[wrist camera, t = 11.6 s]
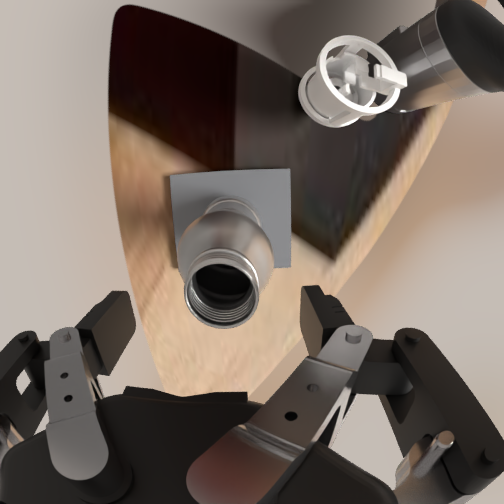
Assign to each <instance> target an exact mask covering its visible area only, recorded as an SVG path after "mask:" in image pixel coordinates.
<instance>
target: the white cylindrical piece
mask: <svg viewBox="0 0 504 504" xmlns="http://www.w3.org/2000/svg"><path fill="white" fill-rule="evenodd" d="M341 45H346V46H345V47H344V48H343V49H342V50H341V51H340V53H338V55H337V56H336V57H335V58H333V56H332V57H330V58H328V59H327V60H326V57H327V54H328V52H329V51H330V50H331V49H333V48H335V47H337V46H341ZM362 48H363V49H365V50H367V51H368V52H370V53H371V54H372V55H374V56H375V57H376V58H377V59H378V60H379V61H380V62H381V64H382V65H378V64H375V65H374V78H372V77H369V76H368V73H369V67H368V64H369V62H368V61H367V60H365V59H364V58H362V57H360V56H358V55H356V53H357V52H358V51H360V50H361V49H362ZM314 73H315V75H314V76H313V77H312V78H311V80H310V81H309V82H308V84H307V87H306V92H305V86H306V82H307V79H308V78H309V77H310V76H311V75H313V74H314ZM329 77H334V78H330V79H329ZM404 87H407V76H406V74H405V73H402V72H400V71H398V70H397V68H396V66H395V64H394V62H393V61H392V59H391V58H390V57H389V55H388V54H387V53H386V52H385V51H384V50H383V49H382V48H380V47H379V46H378V45H376V44H375V43H373V42H371V41H370V40H367V39H365V38H362V37H358V36H352V35H346V36H340V37H336V38H334V39H332V40H331V41H329V42H328V43H327V44H326V45H325V46H324V48H323V49H322V51H321V52H320V54H319V55H318V58H317V62H316V66H314V67H313V68H311V69H310V70H309V71H307V72H306V74H305V75H304V77H303V78H302V80H301V82H300V84H299V89H298V95H299V100H300V103H301V105H302V107H303V109H304V110H305V112H306V113H307V114H308V115H309V116H310V117H311V118H312V119H313V120H315V121H316V122H318V123H320V124H322V125H324V126H328V127H343V126H346V125H349V124H351V123H353V122H355V121H356V120H357V119H358V118H359V117H361V116H364V115H373V114H378V113H380V112H383V111H386V110H388V109H389V108H391V107H392V106H393V105H394V104H395V102H396V101H397V99H398V97H399V94H400V89H402V88H404ZM376 92H378V93H381V94H384V95H388V96H387V98H386V100H385V101H384V102H383V103H382V104H381V105H380V106H378V107H369V106H370V105H371V104H372V103H373V101H374V99H375V96H376Z"/></svg>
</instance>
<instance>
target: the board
mask: <svg viewBox="0 0 504 504" xmlns="http://www.w3.org/2000/svg"><path fill="white" fill-rule="evenodd" d="M170 187H171V200H172V213H173V224H174V234H175V243H176V252H177V251H178V245H179V241H180V239H181V236H182V234H183V233H184V231H185V230H186V228H187V227H188V226H189V225H190V224H191V223H192V222H193V221H194V220H196V219H198V218H199V217H201V216H202V215H203V213H204V211H205V209H206V208H207V206H208V205H209V204H210V203H211V202H212V201H214V200H215V199H217V198H219V197H222V196H228V195H231V196H238V197H242V198H244V199H246V200H247V201H249V202H250V203H251V204H252V205H253V206H254V207H255V208H256V210H257V211H258V213H259V216H260V218H261V224H262V229H263V231H264V232H265V233H266V235H267V237H268V239H269V240H270V243H271V246H272V248H273V254H274V268H288V267H291V190H290V169H257V170H233V171H215V172H201V173H189V174H178V175H170ZM178 268H179V267H178ZM179 272H180V271H179Z"/></svg>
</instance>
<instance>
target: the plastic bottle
mask: <svg viewBox="0 0 504 504" xmlns="http://www.w3.org/2000/svg"><path fill="white" fill-rule="evenodd" d="M177 262H178V267H179V271H180V275H181V277H182V279H183V281H184V283H185V286H184V297H185V301H186V304H187V306H188V308H189V310H190V312H191V313H192V314H193V315H194V316H195V317H196V318H197V319H198V320H199V321H201V322H202V323H204V324H206V325H208V326H211V327H214V328H221V329H227V328H234V327H237V326H239V325H241V324H243V323H245V322H246V321H248V320H249V319H250V318H251V317H252V315H253V314H254V312H255V310H256V308H257V305H258V301H259V295H260V294H261V293H262V291H263V290H264V289H265V287H266V286H267V284H268V282H269V280H270V278H271V276H272V272H273V269H274V254H273V248H272V246H271V243H270V240H269V239H268V237H267V235H266V233H265V232H264V231H263V229H262V224H261V218H260V216H259V213H258V211H257V210H256V208H255V207H254V206H253V205H252V204H251V203H250V202H249V201H247V200H246V199H244V198H242V197H238V196H231V195H228V196H222V197H219V198H217V199H215V200H214V201H212V202H211V203H210V204H209V205H208V206H207V208H206V209H205V211H204V213H203V215H202V216H201V217H199V218H198V219H196V220H194V221H193V222H192V223H191V224H190V225H189V226H188V227H187V228H186V230H185V231H184V233H183V234H182V236H181V239H180V241H179V245H178V251H177Z"/></svg>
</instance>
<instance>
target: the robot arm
mask: <svg viewBox="0 0 504 504" xmlns="http://www.w3.org/2000/svg"><path fill="white" fill-rule="evenodd" d="M498 1H499V2H500V4H501V5H502V6H503V8H504V0H498ZM376 45H378V46H379V47H380V48H382V49H383V50H384V51H385V52H386V53H387V54H388V55H389V57H390V58H391V59H392V61H393V62H394V64H395V66H396V68H397V70H398V71H400V72H402V73H405V74H406V76H407V87H404V88H402V89H400V94H399V97H398V99H397V101H396V102H395V104H394V105H393V106H392V107H391V108H389V109H388V110H386V111H388V112H392V113H397V114H401V113H406V112H410V111H414V110H417V109H421V108H424V107H428V106H432V105H436V104H440V103H444V102H449V101H453V100H457V99H462V98H466V97H472V96H477V95H482V94H487V93H493V92H499V91H503V92H504V25H503V24H502V23H501V22H500V21H498V20H497V19H496V18H495V17H494V16H493V15H492V14H491V13H489V12H488V11H487V10H486V9H484V8H483V7H482V6H480V5H479V4H477V3H475V2H474V1H472V0H448V1H447V2H445V3H444V4H442V5H441V6H439V7H438V8H436V9H434V10H433V11H432V12H430V13H428V14H427V15H426V16H424V17H423V18H421V19H420V20H418V21H417V22H416V23H414V24H413V25H411V26H410V27H409V28H408V27H405V26H399V27H397V28H396V29H395V30H393V31H392V32H391V33H390V34H388V35H387V36H386V37H385V38H384V39H383V40H381V41H380V42H379V43H377V44H376ZM367 61H368V62H369V64H368V67H369V73H368V76H369V77H372V78H374V65H375V64H378V65H382V64H381V62H380V61H379V60H378V59H377V58H376V57H375V56H374V55H372V54H371V53H370V52H368V58H367ZM387 96H388V95H384V94H381V93H378V92H376V96H375V99H374V102H375V103H376V104H377V105H378V106H380V105H381V104H382V103H383V102H384V101H385V100H386V98H387ZM300 327H301V332H302V335H303V338H304V340H305V343H306V347H307V350H308V353H309V356H307V357H306V358H305V359H304V360H303V361H302V363H300V365H299V366H298V367H297V368H296V369H295V371H294V372H293V373H292V374H291V375H290V377H288V379H287V380H286V381H285V382H284V383H283V384H282V385H281V387H280V388H279V389H278V390H277V391H276V392H275V393H274V394H273V395H272V396H271V397H270V399H269V400H268V401H267V402H266V403H265V404H261V403H257V402H252V401H248V395H247V392H213V393H207V394H201V395H194V396H187V397H180V396H176V395H172V394H168V393H165V392H161V391H158V390H154V389H148V388H139V387H130V386H126V388H125V390H124V392H123V394H119V395H113V396H109V397H106V398H105V397H104V395H103V391H102V388H101V385H100V383H99V380H98V378H97V376H98V374H100V375H106V376H109V375H110V374H111V372H112V370H113V368H114V367H115V365H116V363H117V361H118V360H119V358H120V356H121V355H122V353H123V351H124V349H125V348H126V346H127V344H128V343H129V341H130V339H131V338H132V336H133V334H134V332H135V329H136V321H135V317H134V313H133V309H132V305H131V300H130V296H129V294H128V292H127V291H111V293H109V295H107V297H106V298H105V299H104V300H103V301H101V302H100V303H98V304H96V305H95V306H94V307H93V308H92V309H91V310H90V312H88V313H87V314H86V316H85V317H84V318H83V319H82V320H81V321H80V322H79V323H78V324H77V325H76V326H75V327H74V328H73V327H66V328H62V329H59V330H57V331H56V332H54V333H53V334H52V335H51V337H50V341H39V340H38V337H37V335H36V333H35V332H34V331H25V332H22V333H19V334H18V335H16V336H15V337H14V338H13V339H12V340H11V341H10V342H9V343H8V344H7V345H6V346H5V348H4V349H3V350H2V351H1V352H0V504H465V503H466V502H467V501H469V500H470V499H472V498H473V497H474V496H475V495H477V494H478V493H479V492H480V491H482V490H483V489H484V488H485V487H487V486H488V485H489V484H490V483H491V482H492V481H494V480H495V479H496V478H497V477H498V476H499V475H500V474H501V473H502V472H503V471H504V440H503V438H502V436H501V435H500V433H499V432H498V430H497V428H496V427H495V425H494V424H493V422H492V421H491V419H490V418H489V416H488V415H487V413H486V412H485V410H484V409H483V407H482V406H481V405H480V403H479V402H478V400H477V399H476V397H475V396H474V395H473V393H472V392H471V390H470V389H469V388H468V386H467V385H466V384H465V382H464V381H463V379H462V378H461V377H460V375H459V374H458V373H457V372H456V370H455V369H454V368H453V366H452V365H451V364H450V363H449V361H448V360H447V359H446V357H445V356H444V355H443V354H442V352H441V351H440V350H439V349H438V347H437V346H436V345H435V344H434V343H433V341H432V340H431V339H430V338H429V337H428V335H427V334H426V333H424V332H423V331H421V330H418V329H415V328H403V329H400V330H398V331H397V332H396V333H395V336H394V340H380V339H373V335H372V333H371V332H370V331H369V330H368V329H366V328H364V327H362V326H358V325H355V324H354V322H353V321H352V320H351V318H350V316H349V315H348V313H347V312H346V311H345V309H344V307H342V304H341V303H340V301H339V300H338V299H337V298H335V297H333V296H332V295H324V293H323V291H322V290H321V288H320V286H319V285H313V286H302V288H301V305H300ZM23 370H25V371H26V373H27V375H28V377H29V379H30V381H31V382H30V384H29V385H28V387H27V388H26V389H25V391H24V392H23V394H22V395H21V394H20V393H19V391H18V389H17V386H16V380H17V377H18V376H19V375H20V373H21V372H22V371H23ZM358 394H373V395H374V394H375V395H378V396H379V398H380V400H381V403H382V405H383V407H384V410H385V412H386V415H387V417H388V420H389V422H390V424H391V427H392V429H393V432H394V434H395V437H396V440H397V442H398V445H399V447H400V450H401V452H402V455H403V458H404V459H403V460H402V461H401V463H400V464H399V466H398V467H397V470H396V474H395V476H396V487H395V490H393V491H392V490H391V488H390V487H389V486H388V485H386V484H385V483H384V482H383V481H381V480H380V479H378V478H376V477H375V476H373V475H371V474H369V473H368V472H366V471H364V470H363V469H361V468H359V467H358V466H356V465H355V464H353V463H351V462H350V461H348V460H347V459H345V458H344V457H342V456H341V455H339V454H337V453H336V452H335V451H333V450H332V449H330V448H331V446H332V445H333V443H334V440H335V439H336V436H337V434H338V432H339V430H340V428H341V426H342V424H343V422H344V421H345V419H346V417H347V415H348V413H349V411H350V409H351V407H352V406H353V403H354V402H355V400H356V397H357V396H358ZM47 409H48V416H49V423H48V424H47V425H46V429H45V430H43V431H41V432H39V433H37V434H36V435H34V433H35V431H36V429H37V428H38V426H39V424H40V422H41V420H42V418H43V417H44V415H45V413H46V411H47ZM33 435H34V436H33Z"/></svg>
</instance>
